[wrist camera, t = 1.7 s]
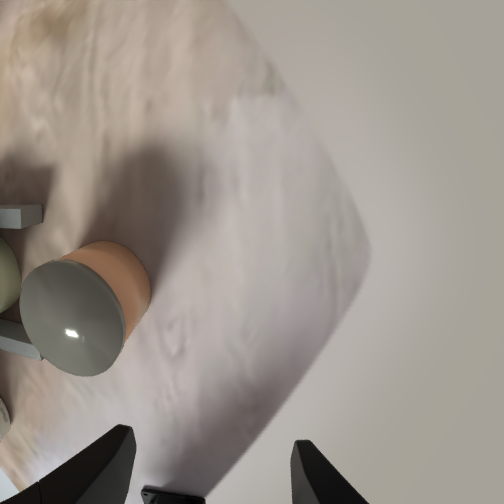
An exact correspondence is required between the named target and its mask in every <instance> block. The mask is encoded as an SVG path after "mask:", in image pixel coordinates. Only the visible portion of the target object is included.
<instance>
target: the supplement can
mask: <svg viewBox="0 0 504 504" xmlns="http://www.w3.org/2000/svg"><path fill="white" fill-rule="evenodd" d="M10 428H11V427H10V419H9V413H8V411H7V409H6V406H5V404H4V403H3V401H2V399H1V398H0V442H1V440H2V439H3V438H4V437H5V435H6V434H7V433H8V431H9V430H10Z"/></svg>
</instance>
